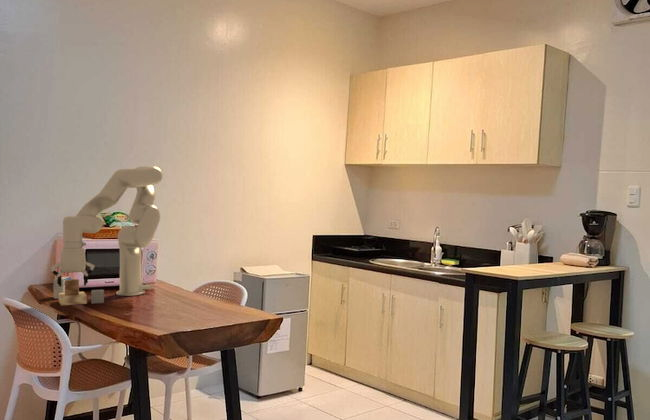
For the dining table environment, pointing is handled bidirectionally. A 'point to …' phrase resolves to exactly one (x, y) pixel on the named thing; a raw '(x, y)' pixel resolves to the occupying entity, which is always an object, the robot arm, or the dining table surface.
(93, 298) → the slate block
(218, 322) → the dining table surface
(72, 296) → the birch block
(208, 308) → the dining table surface
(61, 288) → the medicine box
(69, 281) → the walnut block
